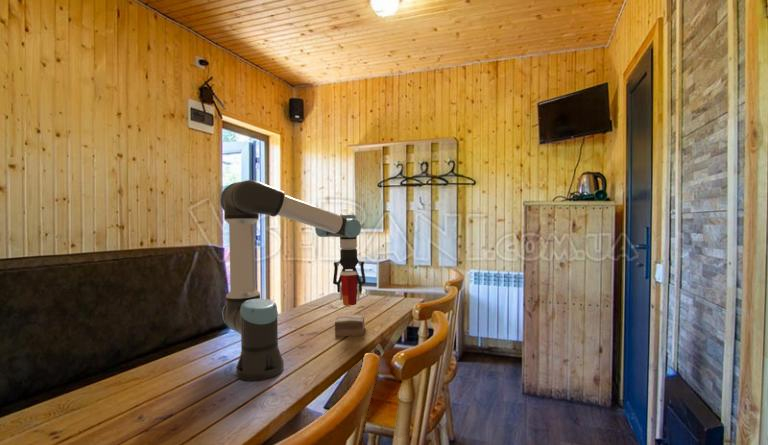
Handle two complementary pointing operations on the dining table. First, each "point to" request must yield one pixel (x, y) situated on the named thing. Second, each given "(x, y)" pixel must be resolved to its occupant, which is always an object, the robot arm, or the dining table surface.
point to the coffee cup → (349, 287)
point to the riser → (349, 325)
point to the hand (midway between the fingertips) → (349, 299)
